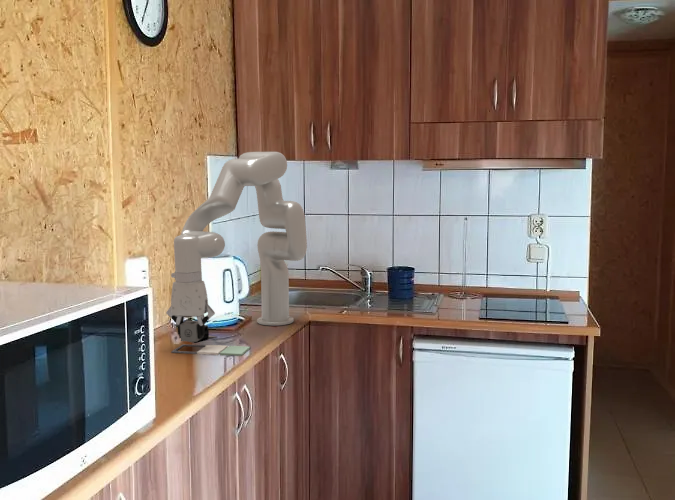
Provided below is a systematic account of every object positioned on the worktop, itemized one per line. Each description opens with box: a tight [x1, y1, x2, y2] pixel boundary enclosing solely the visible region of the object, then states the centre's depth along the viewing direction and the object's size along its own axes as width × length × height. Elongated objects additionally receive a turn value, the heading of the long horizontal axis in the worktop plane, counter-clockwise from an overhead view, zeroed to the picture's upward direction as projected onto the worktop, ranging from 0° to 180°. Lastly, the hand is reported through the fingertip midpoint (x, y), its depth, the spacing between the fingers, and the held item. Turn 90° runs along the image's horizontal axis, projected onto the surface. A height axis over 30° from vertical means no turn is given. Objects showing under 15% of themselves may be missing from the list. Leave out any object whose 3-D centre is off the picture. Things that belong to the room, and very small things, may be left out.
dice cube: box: [180, 319, 203, 343], centre depth 206 cm, size 5×5×5 cm
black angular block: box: [186, 325, 217, 344], centre depth 219 cm, size 12×7×5 cm, turn 145°
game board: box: [171, 343, 251, 357], centre depth 204 cm, size 8×21×1 cm, turn 80°
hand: (191, 336), depth 206 cm, fingers closed on dice cube, 5 cm apart
